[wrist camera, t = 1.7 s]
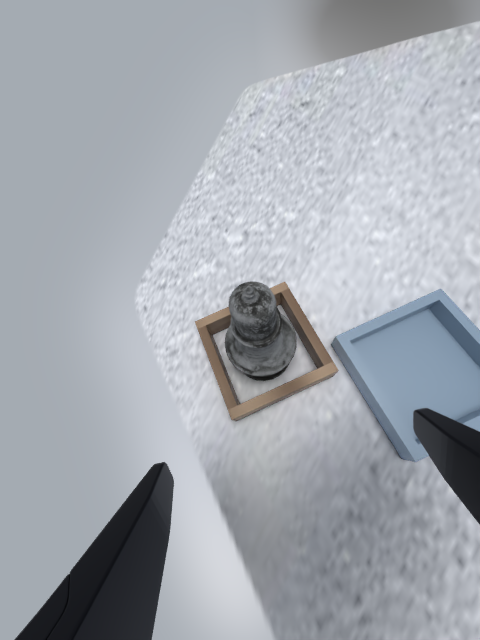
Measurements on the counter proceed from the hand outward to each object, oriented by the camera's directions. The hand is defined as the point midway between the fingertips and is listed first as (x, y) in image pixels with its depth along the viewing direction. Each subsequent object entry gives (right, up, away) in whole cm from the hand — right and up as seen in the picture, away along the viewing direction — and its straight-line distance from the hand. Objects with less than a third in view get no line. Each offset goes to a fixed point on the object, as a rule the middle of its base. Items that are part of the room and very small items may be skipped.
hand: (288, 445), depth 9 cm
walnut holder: (0, +1, +15) cm, 15 cm away
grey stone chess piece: (0, +1, +15) cm, 15 cm away
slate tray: (+13, 0, +12) cm, 18 cm away
